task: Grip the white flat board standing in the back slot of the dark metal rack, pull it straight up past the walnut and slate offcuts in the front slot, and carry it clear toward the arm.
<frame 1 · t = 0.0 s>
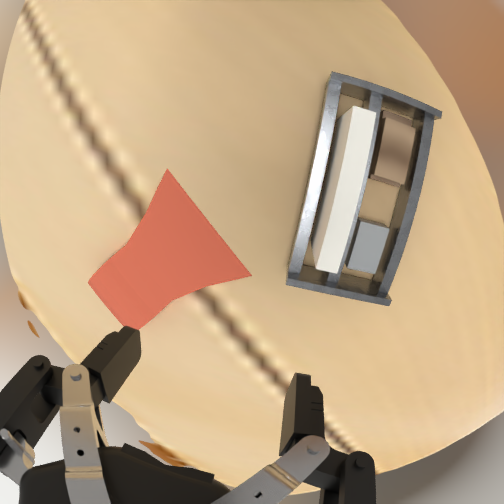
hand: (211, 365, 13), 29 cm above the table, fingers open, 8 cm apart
offcut a: (386, 148, 34), on the table, touching offcut b
offcut c: (363, 242, 39), on the table
white flat board: (333, 182, 37), on the table
offcut b: (391, 151, 32), point 2 cm above the table, touching offcut a
sheet 2: (163, 260, 45), on the table
rack: (359, 189, 36), on the table
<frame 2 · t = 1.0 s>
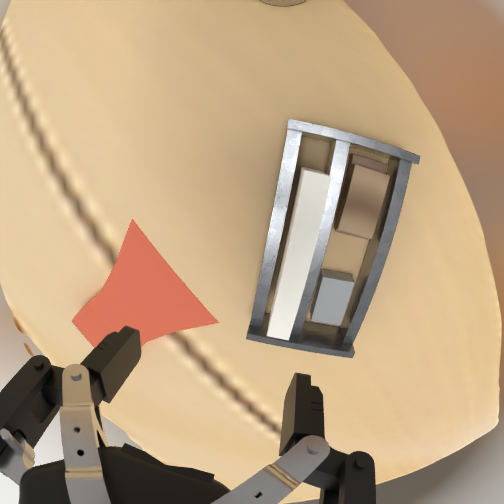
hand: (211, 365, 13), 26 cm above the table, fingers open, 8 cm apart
offcut a: (357, 194, 34), on the table, touching offcut b
offcut c: (330, 292, 39), on the table
white flat board: (296, 234, 37), on the table
offcut b: (360, 199, 32), point 2 cm above the table, touching offcut a
sheet 2: (137, 303, 46), on the table
rack: (325, 241, 36), on the table
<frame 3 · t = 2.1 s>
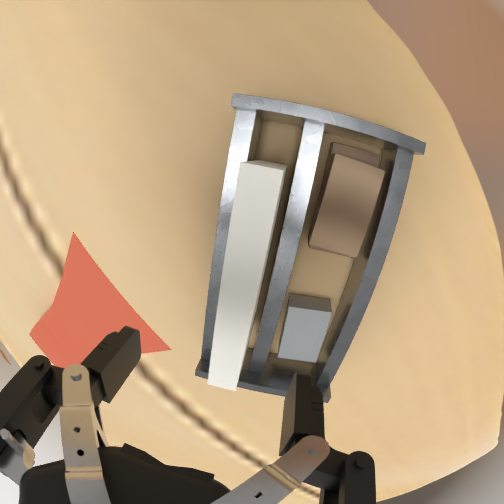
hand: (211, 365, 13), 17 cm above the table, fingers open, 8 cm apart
offcut a: (341, 197, 26), on the table, touching offcut b
offcut c: (303, 321, 31), on the table
white flat board: (257, 249, 28), on the table
offcut b: (343, 203, 23), point 2 cm above the table, touching offcut a
sheet 2: (89, 321, 38), on the table
rack: (295, 258, 28), on the table
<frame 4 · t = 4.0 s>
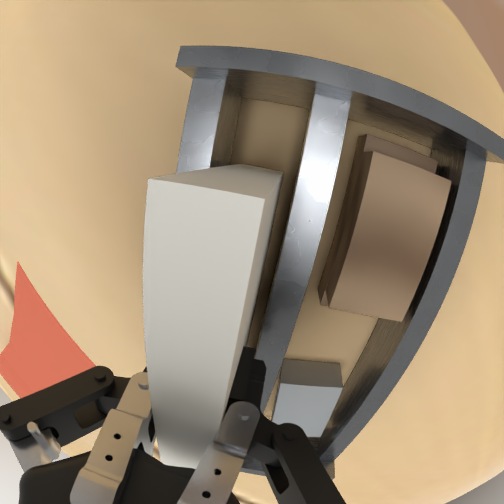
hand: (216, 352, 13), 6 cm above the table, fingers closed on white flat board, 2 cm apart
offcut a: (371, 223, 16), on the table, touching offcut b
offcut c: (303, 387, 21), on the table
white flat board: (237, 300, 19), on the table, touching gripper
offcut b: (382, 234, 14), point 2 cm above the table, touching offcut a
sheet 2: (50, 360, 28), on the table
rack: (294, 313, 18), on the table
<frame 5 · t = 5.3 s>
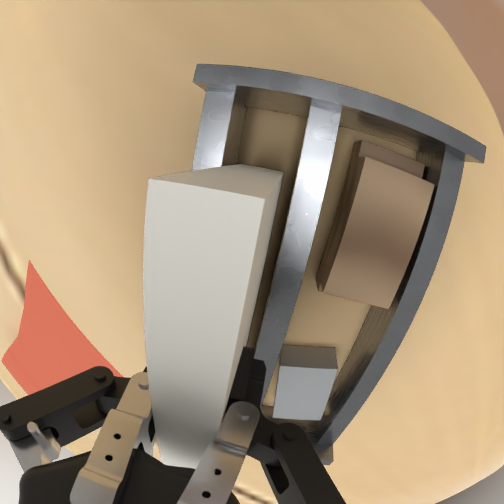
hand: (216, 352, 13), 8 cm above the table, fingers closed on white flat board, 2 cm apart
offcut a: (364, 220, 18), on the table, touching offcut b
offcut c: (302, 373, 23), on the table
white flat board: (237, 300, 19), point 2 cm above the table, touching gripper
offcut b: (372, 230, 16), point 2 cm above the table, touching offcut a
sheet 2: (57, 354, 30), on the table
rack: (294, 300, 20), on the table
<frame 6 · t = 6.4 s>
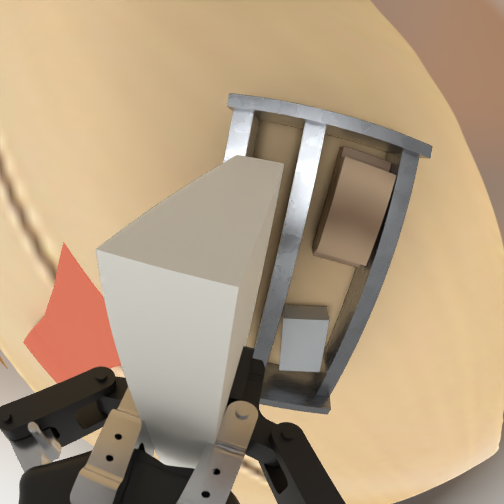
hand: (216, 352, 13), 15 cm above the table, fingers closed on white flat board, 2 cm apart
offcut a: (348, 204, 25), on the table, touching offcut b
offcut c: (302, 331, 30), on the table
white flat board: (237, 297, 18), point 10 cm above the table, tilted 8°, touching gripper
offcut b: (352, 208, 22), point 2 cm above the table, touching offcut a
sheet 2: (81, 331, 37), on the table
rack: (294, 266, 27), on the table
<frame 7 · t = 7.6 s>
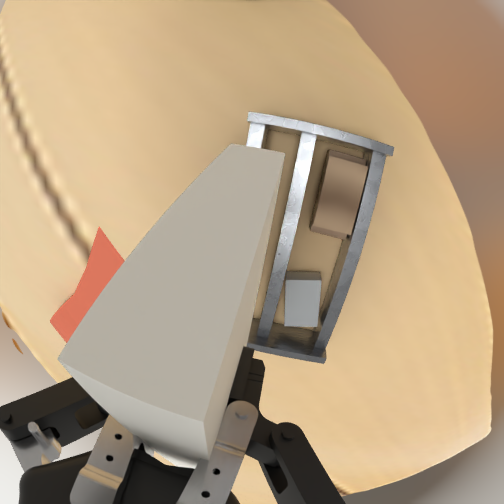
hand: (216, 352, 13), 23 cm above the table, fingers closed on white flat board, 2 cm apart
offcut a: (335, 192, 33), on the table, touching offcut b
offcut c: (301, 293, 38), on the table
white flat board: (238, 288, 17), point 19 cm above the table, tilted 18°, touching gripper
offcut b: (338, 193, 30), point 2 cm above the table, touching offcut a
sheet 2: (107, 306, 45), on the table
rack: (294, 239, 35), on the table
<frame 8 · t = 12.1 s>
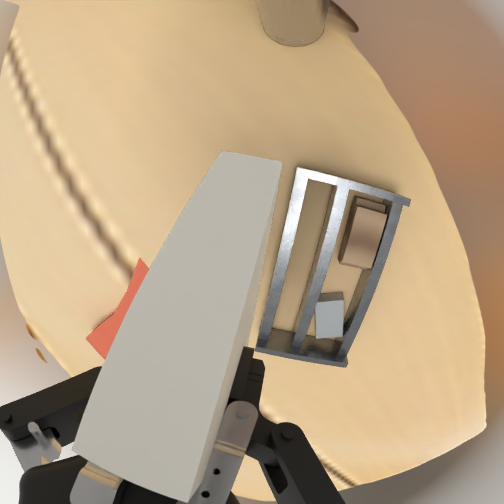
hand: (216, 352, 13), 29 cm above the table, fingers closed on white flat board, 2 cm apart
offcut a: (359, 230, 39), on the table, touching offcut b
offcut c: (327, 310, 44), on the table
white flat board: (239, 284, 17), point 24 cm above the table, tilted 29°, touching gripper
offcut b: (361, 234, 37), point 2 cm above the table, touching offcut a
sheet 2: (145, 325, 52), on the table
rack: (324, 267, 42), on the table
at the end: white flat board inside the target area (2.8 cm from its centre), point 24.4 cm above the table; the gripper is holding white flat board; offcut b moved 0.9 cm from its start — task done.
